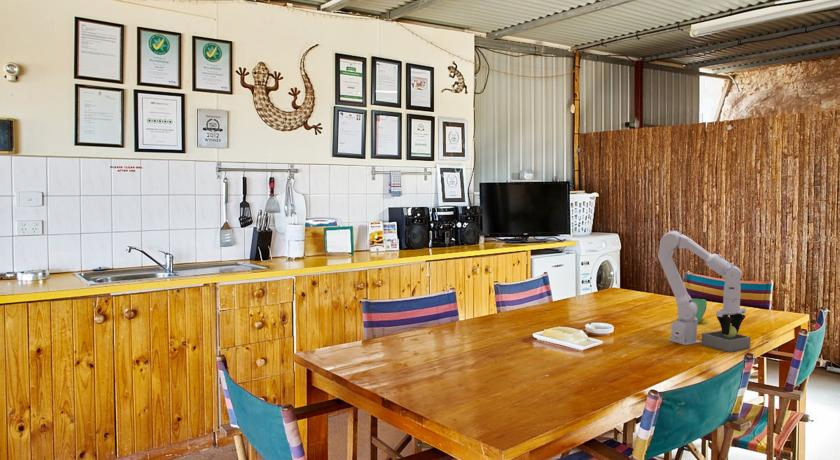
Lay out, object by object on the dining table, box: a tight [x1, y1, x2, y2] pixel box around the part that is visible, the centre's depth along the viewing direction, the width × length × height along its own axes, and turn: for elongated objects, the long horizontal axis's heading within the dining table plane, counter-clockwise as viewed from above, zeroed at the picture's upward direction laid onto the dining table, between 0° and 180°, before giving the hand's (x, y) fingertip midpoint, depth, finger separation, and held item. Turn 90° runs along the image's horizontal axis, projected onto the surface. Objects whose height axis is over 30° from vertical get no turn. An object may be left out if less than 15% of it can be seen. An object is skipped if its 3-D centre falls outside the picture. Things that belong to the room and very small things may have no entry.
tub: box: [700, 329, 751, 354], centre depth 241 cm, size 12×12×4 cm
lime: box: [724, 324, 738, 338], centre depth 241 cm, size 5×5×5 cm
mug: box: [691, 297, 708, 325], centre depth 283 cm, size 15×10×10 cm
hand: (730, 333), depth 240 cm, fingers closed on lime, 5 cm apart
